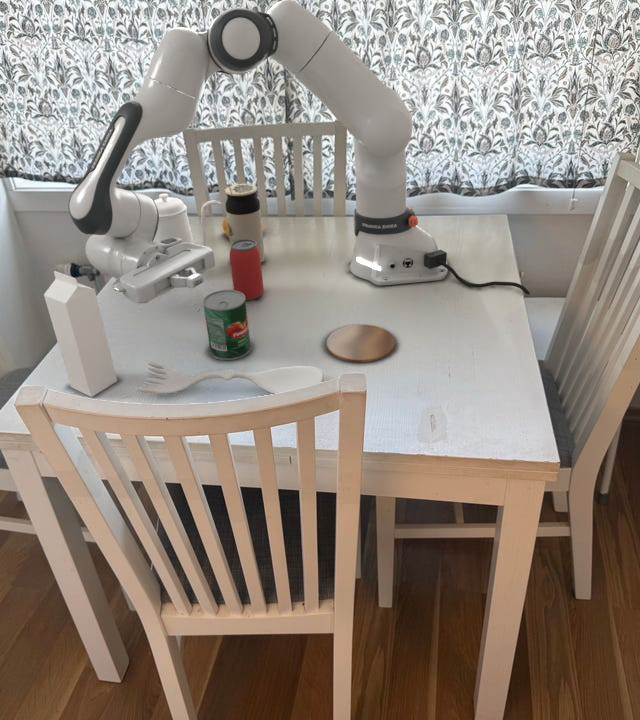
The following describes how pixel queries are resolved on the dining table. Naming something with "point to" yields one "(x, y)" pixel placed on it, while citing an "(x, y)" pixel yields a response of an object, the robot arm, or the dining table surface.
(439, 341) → the dining table surface
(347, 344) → the wooden trivet
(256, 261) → the beer can
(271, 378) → the white serving fork
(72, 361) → the milk
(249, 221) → the travel mug
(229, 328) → the canned tomato
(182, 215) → the coffeepot
